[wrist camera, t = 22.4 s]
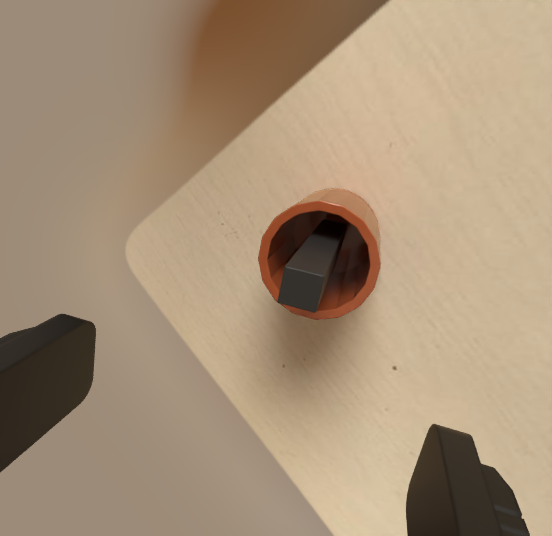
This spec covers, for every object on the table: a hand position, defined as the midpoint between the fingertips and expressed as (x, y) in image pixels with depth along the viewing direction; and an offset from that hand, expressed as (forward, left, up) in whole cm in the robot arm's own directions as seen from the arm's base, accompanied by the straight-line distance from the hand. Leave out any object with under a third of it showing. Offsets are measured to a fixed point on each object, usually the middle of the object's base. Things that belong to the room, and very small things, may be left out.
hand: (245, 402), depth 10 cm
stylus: (0, 0, -20) cm, 20 cm away
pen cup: (0, 0, -21) cm, 21 cm away
